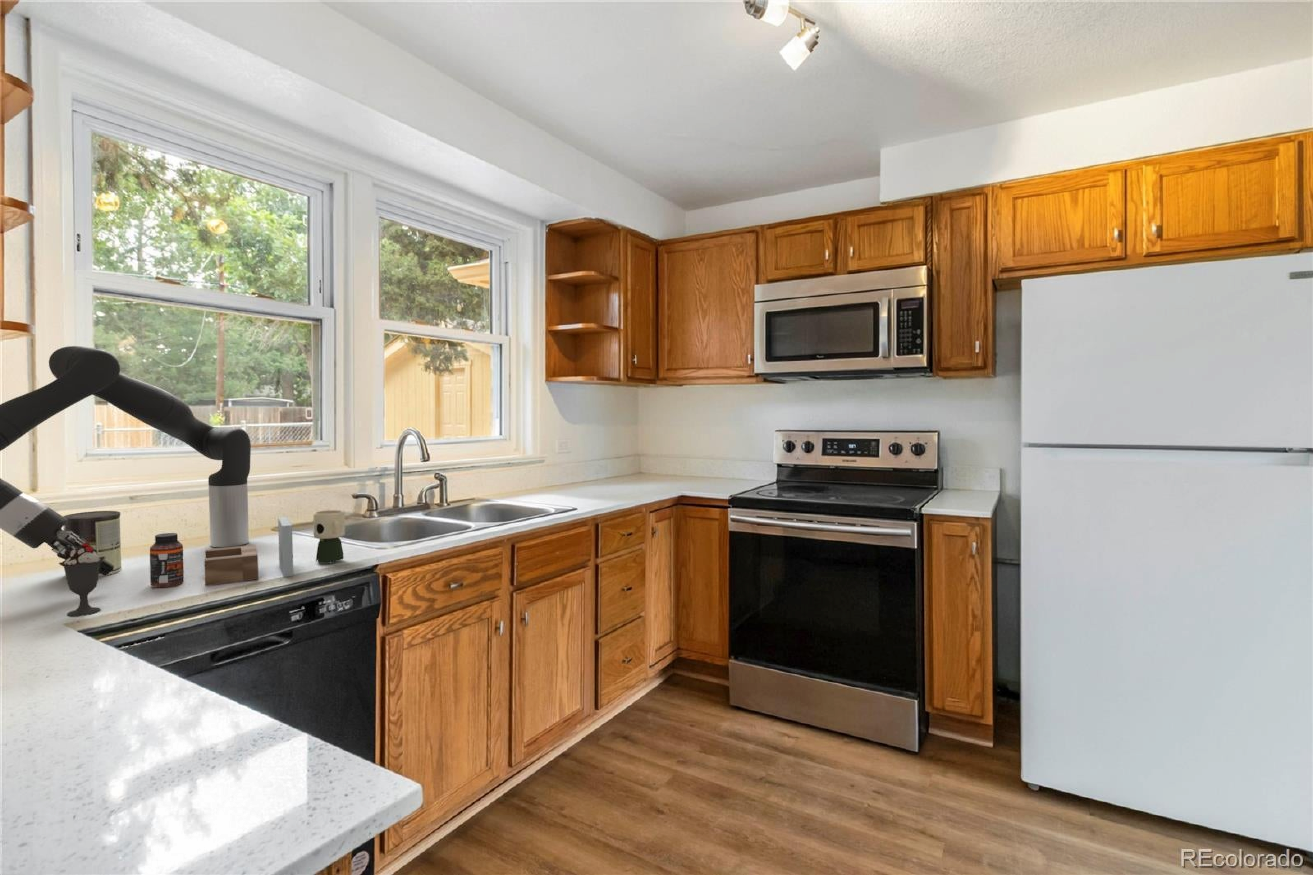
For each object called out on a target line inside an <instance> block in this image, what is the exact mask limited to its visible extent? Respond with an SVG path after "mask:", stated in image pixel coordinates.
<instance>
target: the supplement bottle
mask: <svg viewBox="0 0 1313 875" xmlns="http://www.w3.org/2000/svg"><path fill="white" fill-rule="evenodd" d="M178 539H179V538H178V533H177V532H176V533H175V532H165V533H158V534H156V535H155V536H154V541H155V542H154V543H153V545H151V546H150V547H149V569H150V570H149V573H150V574H149V575H150V576H149V577H150V578H149V579H150V582H149V583H150V586H151V587H154V588H170V587H174V586H178V585H181V584H182V583H183V582H184V578H185V577H184V576H185V575H184V574H185V570H184V545H183V544H182V543H181V542H180V541H179V540H178Z"/></svg>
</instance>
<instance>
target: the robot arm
mask: <svg viewBox="0 0 1313 875" xmlns="http://www.w3.org/2000/svg"><path fill="white" fill-rule="evenodd" d="M48 367H49V369H50V372H51V374H52V375H53V377H54V378H55V380H53V381H51V382H50V383H48V384H46V385H44V386H41V387H40V388H38V389H34V390H32V391H29V392H27V393H25V394H22V395H20V396H17V397H14V398H11V399H9V400H7V401H4V402H2V403H0V452H1V451H4V450H5V449H6V448H8V447H9V446H10V445H12V444H13V443H15V442H16V441H17V440H19V439H21V438H22V437H23V436H25V435H26V434H28V433H29V432H31V430H33V429H35V428H36V427H37V426H39V425H41V424H42V423H43V422H45V421H47V420H49V419H50V418H52V417H53V416H55V415H57V414H59V413H61V412H62V411H64V410H66V409H68V408H69V407H72V406H73V405H75V404H77V403H79V402H81V401H82V400H85V399H86V398H88V397H90V396H95V397H96V398H97V397H98V398H99V399H102V400H103V401H106V402H107V403H109V404H110V405H112V406H114V407H116V408H117V409H119V410H121V411H122V412H124V413H126V414H128V415H130V416H131V417H133V418H135V419H136V420H139V421H140V422H142V423H144V424H146V425H148V426H150V427H151V428H153V429H156V430H158V431H161V432H163V433H165V434H166V435H168V436H171V437H172V438H175V439H177V440H178V441H181V442H183V443H185V444H186V445H188V446H189V447H191V448H192V449H193V450H195V451H196V452H198V453H200V454H201V455H202V456H204V457H205V458H208V459H210V460H212V461H213V460H214V461H222V462H221V468H220V469H219V470H218V471H216V472H214V473H211V474H209V476H208V479H207V480H208V481H207V482H208V505H209V508H208V510H209V514H208V516H209V545H210V547H213V548H226V547H236V546H244V545H246V544H247V545H248V544H249V542H250V541H249V540H250V537H249V536H250V535H249V531H250V530H249V529H250V528H249V498H248V497H249V496H248V478H249V474H250V473H251V472H250V471H251V455H252V453H251V451H252V450H251V448H252V447H251V438H250V436H249V434H248V433H247V431H246V430H244V429H242V428H239V427H238V428H237V427H215V426H213V425H210V424H207V423H205V422H204V421H201V420H199V418H196V416H195V415H194V413H193V412H192V409H191V408H190V406H189V405H188V404H187V403H186V402H185V401H183V400H182V399H181V398H179V397H177V396H175V395H173V394H172V393H170V392H169V391H167V390H165V389H162V388H161V387H158V386H155V385H153V384H151V383H148V382H145V381H143V380H140V379H136V378H133V377H131V376H128V375H125V374H123V373H121V364H120V362H119V359H118V358H117V357H116V356H115V355H114V354H112V353H111V352H108V351H107V350H103V349H99V348H94V347H89V346H88V347H87V346H80V345H79V346H78V345H73V346H72V345H71V346H69V345H68V346H64V347H61V348H58V349H56V350H55V351H53V352H52V353H51V355H50V356H49V360H48ZM63 516H64V515H61V514H60V513H58V512H57V511H55V510H54V509H52V508H51V507H49V506H47V505H46V504H45V503H43V502H41V501H40V500H38V499H37V498H35V497H33V496H31V495H29V494H26V493H25V492H23V491H22V490H20V489H18V488H17V487H15V486H14V485H12V484H11V483H9V481H6V480H4V479H2V478H1V477H0V529H1V530H2V531H4V532H6V533H7V534H9V535H10V536H11V537H14V538H15V539H17V540H18V541H20V542H21V543H23V544H25V545H27V547H29V548H31V549H37V548H39V547H40V546H41V545H43V544H47V545H48V546H49V547H50V548H51V551H52V552H53V553H55V554H56V557H58V558H59V559H63V560H65V553H64V551H65V550H68V551H72V550H74V549H75V548H77V547H80V546H82V544H84V543H86V542H87V541H86V540H84V539H83V538H82V536H79V535H78V536H77V535H76V534H74V533H72V532H71V533H68V532H66V531H64V529H62V528H64V525H65V524H66V523H67V522H68V520H67V519H66V518H65V517H63ZM87 543H88V542H87ZM89 545H90V544H89ZM90 546H91V545H90ZM91 547H92V546H91ZM93 551H94V552H96V553H97V550H96V549H94V550H93ZM97 554H98V553H97ZM98 555H99V554H98ZM113 569H114V566H113V565H112V564H110V563H109V562H107V561H106V560H103V561H102V562H101V564H100V568H99V573H101V574H102V575H104V576H103V577H106V575H107V576H109V575H108V574H109V573H110V572H111V571H112V570H113Z"/></svg>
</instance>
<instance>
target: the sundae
mask: <svg viewBox="0 0 1313 875" xmlns="http://www.w3.org/2000/svg"><path fill="white" fill-rule="evenodd" d="M91 537H93V538H94V537H95V536H94V535H91ZM91 537H90V538H91ZM90 538H89V539H90ZM89 539H88V540H89ZM91 539H92V538H91ZM91 539H90V540H91ZM88 540H87V542H88ZM90 540H89V542H90ZM87 542H86V543H84V544H82V546H80V547H77V548H75V549H74V550H72V551H68V550H65V551H64V553H65V559H64V560H63V561H62V562H59V563H58V564H59V565H60V566H62V567H63V568H64V573H65V574H66V577H65V578H66V583H67V586H68V589H69V591H71V593H73V594H75V595H78V596H79V605H78V607H77V608H76V609H73V610H72V611H71V610H70V611H69V612H67V614H66V616H68V617H82V616H81V615H84V616H88V615H87V614H89V615H93V614H96V613H98V611H99V612H100V611H101V610H102V608H100V607H94V606H91V605H90V604H89V601H88V595H89V594H90V593H91V592H93V591H94V590H95V588H96V587H97V586H98V582H99V577H98V576H99V568H100V564H101V562H102V561H103V560H104V559H105V557H99V555H98V554H97V553H96V552H94V551H93V550H94V548H93V547H91V546H90V545H89V542H88V543H87Z"/></svg>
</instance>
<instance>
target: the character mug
mask: <svg viewBox="0 0 1313 875" xmlns="http://www.w3.org/2000/svg"><path fill="white" fill-rule="evenodd" d="M345 514H346V513H345V510H342V509H329V510H328V509H326V510H325V509H324V510H318V511H314V512H313V515H312V516H313V520H312V521H313V538H314V539H319V541H318V543H317V548H316V549H317V550H316V558H315V562H317V563H319V564H329V563H330V564H334V562H337V561H341V560H344V558H345V556H344V551H343V544H342V540H341V537H344V536H345V534H346V523H345V522H346V519H345V518H346V517H345V516H346V515H345Z"/></svg>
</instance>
